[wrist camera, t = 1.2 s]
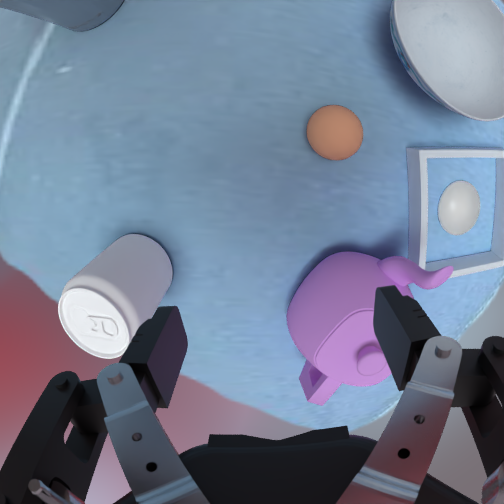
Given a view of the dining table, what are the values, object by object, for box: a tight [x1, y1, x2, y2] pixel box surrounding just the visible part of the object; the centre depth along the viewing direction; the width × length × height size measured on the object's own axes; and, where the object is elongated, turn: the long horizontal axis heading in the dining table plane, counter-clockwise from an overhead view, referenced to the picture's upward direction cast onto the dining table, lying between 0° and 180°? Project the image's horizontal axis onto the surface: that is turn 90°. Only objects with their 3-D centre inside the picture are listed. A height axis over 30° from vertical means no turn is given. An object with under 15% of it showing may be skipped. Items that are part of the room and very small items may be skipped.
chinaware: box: [390, 0, 504, 121], centre depth 19 cm, size 15×15×8 cm
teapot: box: [287, 251, 454, 406], centre depth 28 cm, size 13×20×11 cm, turn 150°
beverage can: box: [58, 234, 173, 359], centre depth 28 cm, size 8×8×12 cm
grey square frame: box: [406, 147, 504, 278], centre depth 27 cm, size 14×14×3 cm
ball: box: [307, 105, 363, 160], centre depth 25 cm, size 5×5×5 cm
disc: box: [438, 181, 480, 235], centre depth 28 cm, size 6×6×1 cm
